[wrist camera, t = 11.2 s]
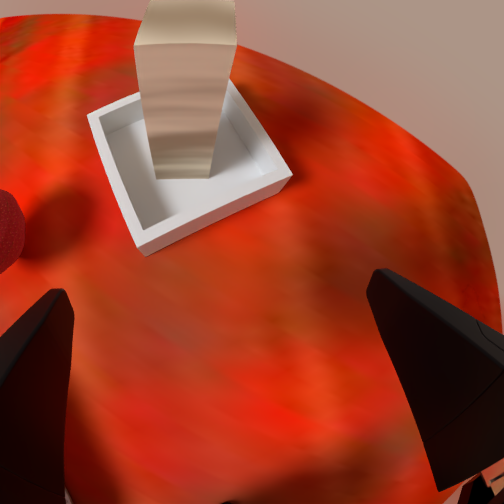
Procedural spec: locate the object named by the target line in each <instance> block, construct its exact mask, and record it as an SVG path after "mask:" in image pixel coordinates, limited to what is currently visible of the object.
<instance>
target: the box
mask: <svg viewBox="0 0 504 504" xmlns="http://www.w3.org/2000/svg"><path fill="white" fill-rule="evenodd" d="M87 117H88V120H89V123H90V127H91V130H92V133H93V136H94V139H95V142H96V145H97V148H98V151H99V154H100V157H101V160H102V162H103V165H104V168H105V171H106V173H107V176H108V179H109V181H110V184H111V187H112V189H113V192H114V194H115V197H116V199H117V202H118V204H119V207H120V209H121V212H122V214H123V216H124V219H125V221H126V224H127V226H128V228H129V230H130V233H131V235H132V237H133V240H134V242H135V244H136V246H137V248H138V249H139V250H140V252H141V253H142V254H143V255H144V256H145V257H147V256H149V255H150V254H152V253H154V252H156V251H158V250H160V249H162V248H164V247H166V246H168V245H170V244H172V243H174V242H176V241H178V240H180V239H182V238H184V237H186V236H188V235H190V234H192V233H194V232H196V231H198V230H200V229H202V228H204V227H206V226H208V225H211V224H213V223H215V222H217V221H219V220H221V219H223V218H225V217H227V216H229V215H231V214H234V213H236V212H238V211H240V210H242V209H244V208H246V207H249V206H251V205H253V204H255V203H257V202H259V201H262V200H264V199H266V198H268V197H270V196H273V195H275V194H277V193H279V192H280V190H281V189H282V188H283V187H284V185H285V184H286V183H287V182H288V180H289V179H290V178H291V177H292V175H293V174H292V172H291V171H290V169H289V168H288V166H287V164H286V163H285V161H284V159H283V158H282V156H281V155H280V153H279V151H278V150H277V148H276V147H275V145H274V144H273V142H272V141H271V139H270V137H269V136H268V134H267V133H266V131H265V130H264V128H263V127H262V125H261V124H260V122H259V121H258V119H257V118H256V116H255V115H254V113H253V112H252V110H251V109H250V107H249V106H248V104H247V103H246V102H245V100H244V99H243V97H242V96H241V94H240V93H239V92H238V90H237V89H236V87H235V86H234V84H233V83H232V82H231V80H230V79H229V81H228V85H227V89H226V94H225V98H224V103H223V107H222V112H221V117H220V122H219V127H218V131H217V136H216V142H215V147H214V152H213V157H212V163H211V168H210V174H209V179H158V180H156V176H155V172H154V167H153V162H152V157H151V152H150V147H149V142H148V137H147V132H146V126H145V121H144V115H143V109H142V103H141V97H140V92H138V93H135V94H133V95H130V96H128V97H125V98H123V99H121V100H118V101H116V102H114V103H111V104H109V105H107V106H105V107H102V108H100V109H98V110H96V111H94V112H92V113H90V114H88V115H87Z"/></svg>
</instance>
